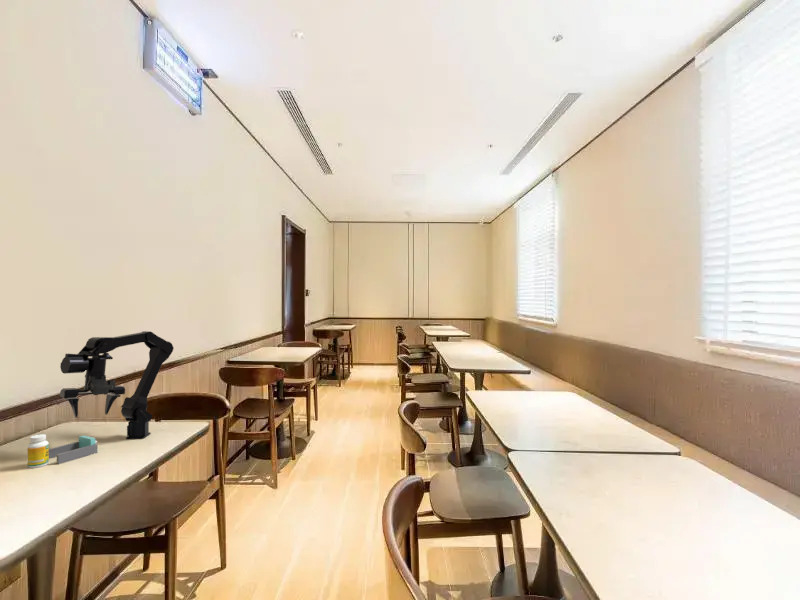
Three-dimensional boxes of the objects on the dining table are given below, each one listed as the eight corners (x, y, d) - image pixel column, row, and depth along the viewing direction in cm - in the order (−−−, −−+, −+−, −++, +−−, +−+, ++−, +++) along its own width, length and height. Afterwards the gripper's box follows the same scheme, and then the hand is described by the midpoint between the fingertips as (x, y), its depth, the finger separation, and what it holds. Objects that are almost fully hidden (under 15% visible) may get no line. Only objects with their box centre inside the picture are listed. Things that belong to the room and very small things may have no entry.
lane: (88, 446, 162) (88, 433, 162) (104, 450, 157) (104, 436, 157) (42, 459, 149) (42, 444, 149) (58, 464, 144) (58, 448, 144)
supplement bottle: (27, 464, 144) (27, 435, 144) (48, 461, 147) (48, 432, 147) (27, 469, 140) (27, 439, 140) (48, 465, 143) (48, 436, 143)
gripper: (71, 375, 147) (66, 422, 146) (132, 372, 162) (128, 416, 160) (61, 372, 154) (57, 417, 153) (121, 370, 169) (117, 411, 167)
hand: (91, 415), depth 158 cm, fingers open, 9 cm apart
